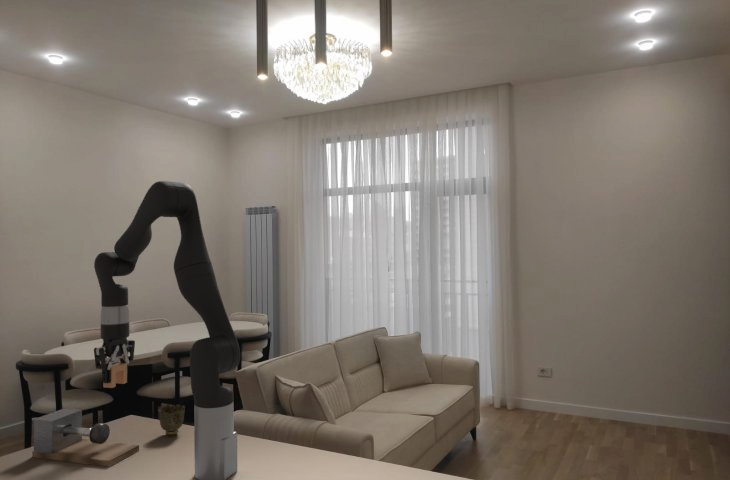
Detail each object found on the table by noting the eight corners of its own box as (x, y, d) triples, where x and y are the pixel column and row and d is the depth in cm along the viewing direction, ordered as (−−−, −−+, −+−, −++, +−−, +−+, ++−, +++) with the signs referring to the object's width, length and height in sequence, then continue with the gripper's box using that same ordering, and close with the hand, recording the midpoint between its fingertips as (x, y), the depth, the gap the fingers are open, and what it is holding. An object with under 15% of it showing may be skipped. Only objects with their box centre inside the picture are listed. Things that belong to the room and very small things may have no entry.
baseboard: (139, 450, 146) (139, 445, 146) (109, 466, 135) (109, 460, 135) (65, 442, 153) (65, 437, 153) (32, 457, 142) (32, 451, 142)
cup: (176, 440, 154) (176, 412, 154) (153, 438, 155) (153, 410, 155) (189, 431, 161) (189, 404, 161) (167, 429, 163) (167, 403, 163)
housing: (81, 440, 150) (81, 409, 150) (52, 453, 140) (52, 421, 140) (64, 438, 152) (64, 408, 152) (33, 451, 142) (33, 419, 142)
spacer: (127, 382, 157) (126, 363, 157) (112, 387, 151) (112, 367, 151) (118, 382, 157) (118, 362, 158) (103, 387, 152) (103, 367, 152)
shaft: (109, 440, 144) (109, 421, 144) (95, 446, 140) (95, 427, 140) (73, 436, 148) (73, 417, 148) (58, 442, 143) (58, 423, 143)
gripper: (107, 325, 146) (107, 387, 146) (142, 318, 160) (143, 375, 160) (84, 324, 149) (85, 385, 148) (121, 317, 162) (122, 373, 162)
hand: (115, 379), depth 154 cm, fingers closed on spacer, 6 cm apart
